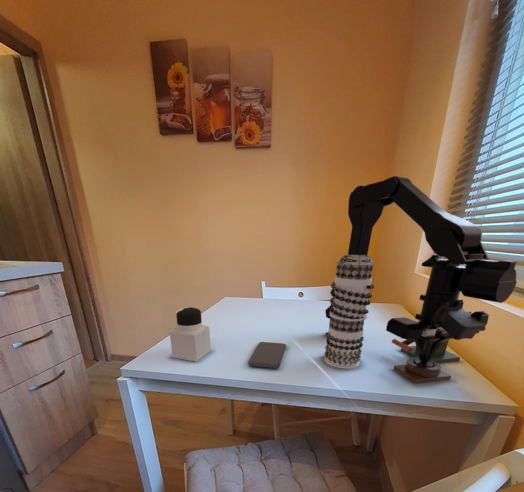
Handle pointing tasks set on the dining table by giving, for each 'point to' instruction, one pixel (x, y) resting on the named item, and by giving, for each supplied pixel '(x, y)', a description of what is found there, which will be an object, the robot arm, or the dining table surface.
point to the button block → (421, 372)
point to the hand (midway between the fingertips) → (423, 362)
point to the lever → (404, 344)
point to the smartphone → (267, 355)
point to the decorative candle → (348, 310)
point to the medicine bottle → (189, 335)
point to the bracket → (436, 354)
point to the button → (423, 363)
